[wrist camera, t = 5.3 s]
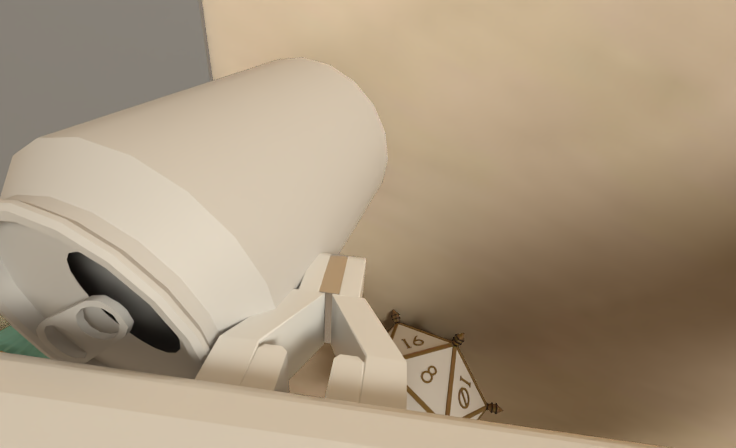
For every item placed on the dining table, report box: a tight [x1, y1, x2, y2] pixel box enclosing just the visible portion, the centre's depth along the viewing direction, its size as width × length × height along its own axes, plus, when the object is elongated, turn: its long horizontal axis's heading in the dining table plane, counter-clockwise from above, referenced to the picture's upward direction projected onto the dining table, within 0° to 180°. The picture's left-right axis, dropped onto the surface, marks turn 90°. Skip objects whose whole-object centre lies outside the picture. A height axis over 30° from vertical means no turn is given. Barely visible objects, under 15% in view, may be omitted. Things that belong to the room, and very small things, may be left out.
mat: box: [0, 0, 213, 196], centre depth 17 cm, size 16×20×1 cm
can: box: [0, 57, 388, 379], centre depth 12 cm, size 8×8×12 cm
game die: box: [387, 309, 503, 420], centre depth 21 cm, size 9×8×10 cm
